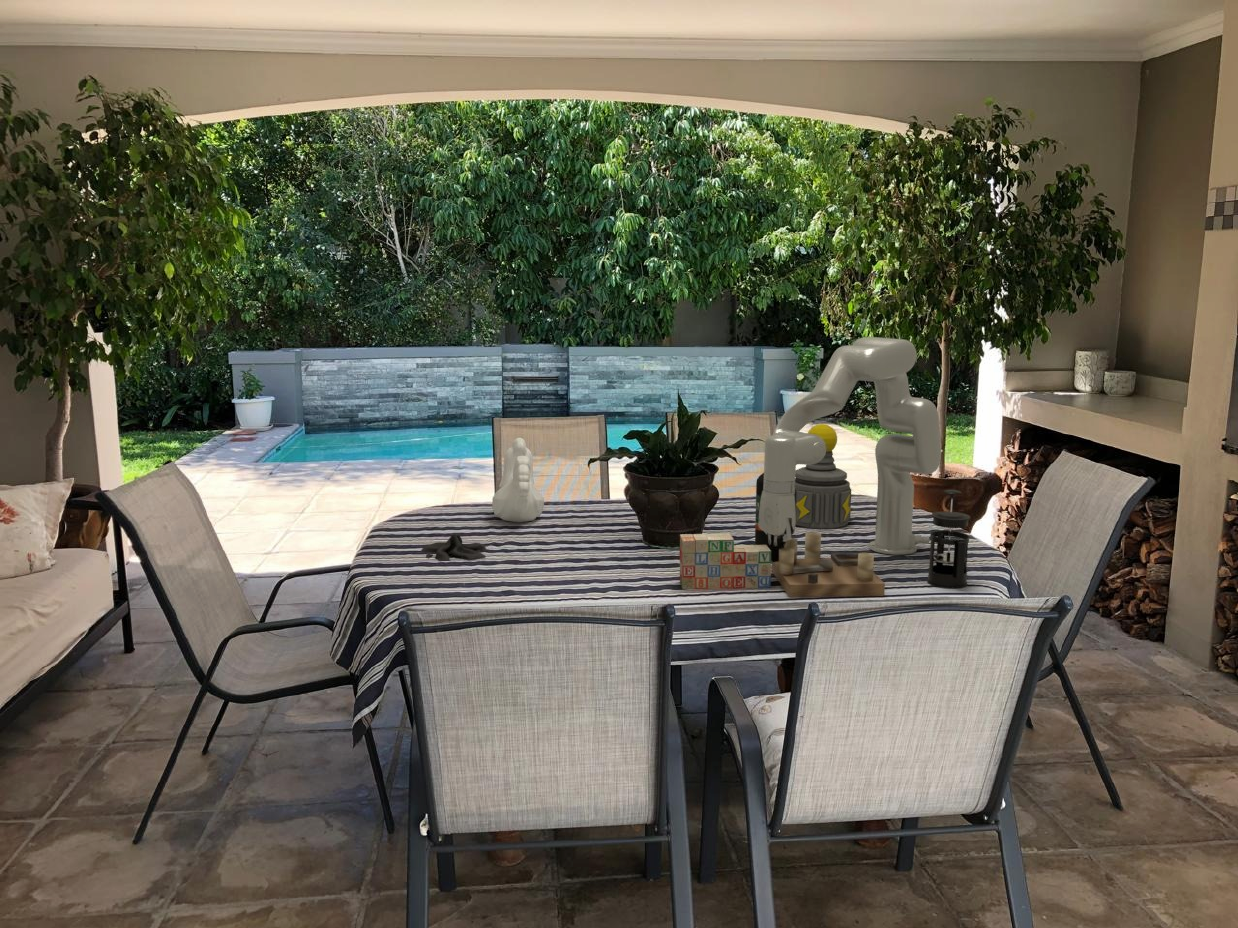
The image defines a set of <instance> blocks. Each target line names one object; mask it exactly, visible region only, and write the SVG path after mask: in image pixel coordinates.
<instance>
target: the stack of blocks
mask: <svg viewBox="0 0 1238 928" xmlns="http://www.w3.org/2000/svg"><path fill="white" fill-rule="evenodd" d="M771 579H772V561H771V550H770V549H769V548H768V546H767V545H755V544H736V545H735V539H734V537H733V536H732V535H731V533H730V532H729V533H728V532H727V533H725V532H724V533H694V534H691V533H689V534H687V533H685V534H683V533H682V534H681V533H680V534H679V584H680V586H681V589H682V590H720V589H721V590H723V589H724V590H725V589H728V590H730V589H771V581H772V580H771Z"/></svg>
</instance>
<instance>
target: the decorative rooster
mask: <svg viewBox="0 0 1238 928" xmlns="http://www.w3.org/2000/svg"><path fill="white" fill-rule="evenodd" d="M533 461H534V459H533V453H532V452H531V450H530V449H529V448H528V447H527V443H526V440H525V439H524V438H523V437H517V438H515V439H514V440H513V442H512V446H510V447H509V448H508V449H507V450H506V451H505V454H504V459H503V471H502V472H503V473H502V477H501V479H500V482H499V485H498V487H499V489H498V490H497V491H496V492H495V493H494V495H493V496H492V499H491V501H492V502H491V503H492V504H491V505H492V506H491V507H492V510H493V513H494V515H495V516H498V517H499V519H501V520H503V521H506V522H513V523H526V522H532V521H534V520H536V518H537V517H541V516H542V513H543V511H544V506H545V504H544V503H545V498H544V496H543V494H542V493H541V491H540V490H539V489H538V488H537V487H536V486H535V482H534V470H533V469H534V463H533Z"/></svg>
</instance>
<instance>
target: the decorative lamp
mask: <svg viewBox="0 0 1238 928" xmlns="http://www.w3.org/2000/svg"><path fill="white" fill-rule="evenodd" d="M807 433H809V434H814V435H817V436H819V437H821V438H822V439H823V440H824V442H825V444H826V454H825V456H824V458H823V459H822V460H821V461H820V462H818V463H816V464H812V465H805V466H803V467H800V468H798V469H796V474H795V494H794V498H795V511H796V524H795V526H797V527H801V528H807V529H816V530H817V529H818V530H831V529H832V530H833V529H839V528H844V527H845V526H847V525H848V524H849V521H850V519H851V514H852V513H851V511H852V507H851V506H852V489H851V487H850V486H851V484H850V481H848V480H847V478H848V473H847V471H844V470H843V469H841V468H837V467H836V463H834V462H835V457H833V455H834V453H833V450H834V449H835V448H836V445H837V443H838V435H837V432H836V430H835V429H834V428H833V426H831V425H829V424H825V423H818V424H815V425H813V426H812V427H811V428H810V429H809V430H808V431H807Z"/></svg>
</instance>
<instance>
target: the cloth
mask: <svg viewBox="0 0 1238 928" xmlns="http://www.w3.org/2000/svg"><path fill="white" fill-rule="evenodd" d="M487 551H488V550H487V547H486V546H485V545H484V544H483V543H480V542H473V543H467V544H464V543H463V539H462V537H461V534H460V533H457V532H455V533H452V534H451V536H450V537H449V538H448V540H446V542H444V541H443V542H441V541H440V542H439V541H437V542H434V543H431V544H428V545H425V546H424V547H422V548H421V550H420V552H421V553H424V552H426V556H425V558H426V559H430V558H433V557H434V559H435V560H436V561H438V562H441V561H450V562H451V559H450V557H449V556H452V558H453V557H454V558H461V559H464V560H466V561H469V562H470V561H475V560H482V559H486V555H485V554H484V553H481V552H487ZM432 553H435V556H434V554H432Z"/></svg>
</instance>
